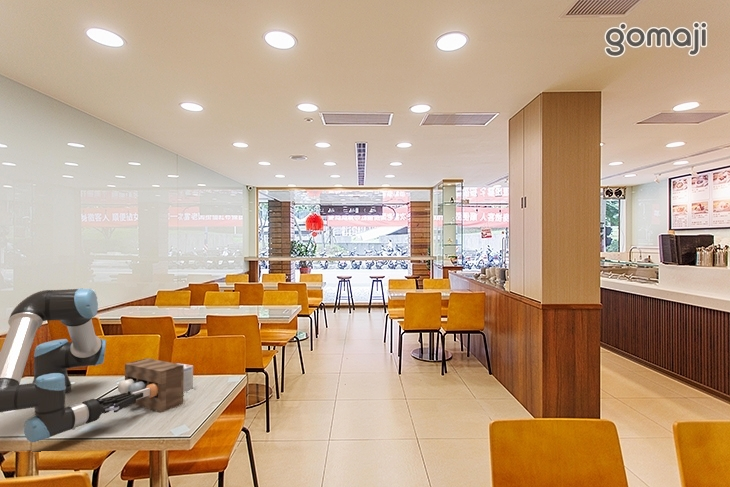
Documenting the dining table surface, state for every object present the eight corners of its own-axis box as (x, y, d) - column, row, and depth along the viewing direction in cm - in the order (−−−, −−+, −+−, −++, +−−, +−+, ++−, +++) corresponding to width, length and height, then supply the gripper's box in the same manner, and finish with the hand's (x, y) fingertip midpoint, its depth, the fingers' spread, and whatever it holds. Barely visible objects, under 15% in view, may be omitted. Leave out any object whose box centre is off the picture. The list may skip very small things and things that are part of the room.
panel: (124, 401, 164) (124, 363, 164) (147, 394, 173) (147, 358, 173) (161, 412, 153) (161, 371, 153) (183, 403, 162) (183, 365, 162)
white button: (117, 393, 159) (117, 380, 159) (137, 386, 167) (137, 375, 167) (125, 395, 157) (125, 382, 157) (144, 388, 164) (144, 376, 164)
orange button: (145, 396, 155) (145, 383, 155) (164, 390, 162) (164, 378, 163) (153, 398, 153) (153, 385, 153) (172, 391, 160) (172, 379, 160)
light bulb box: (164, 390, 178) (164, 366, 179) (176, 385, 185) (177, 362, 185) (181, 393, 174) (181, 369, 175) (193, 388, 181) (193, 365, 181)
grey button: (128, 395, 156) (128, 383, 156) (147, 389, 163) (147, 377, 163) (135, 397, 154) (136, 385, 154) (155, 391, 161) (155, 379, 161)
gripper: (72, 420, 136) (138, 398, 157) (93, 428, 130) (159, 403, 151) (73, 399, 136) (138, 379, 157) (94, 405, 130) (159, 384, 151)
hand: (148, 391), depth 154 cm, fingers closed
